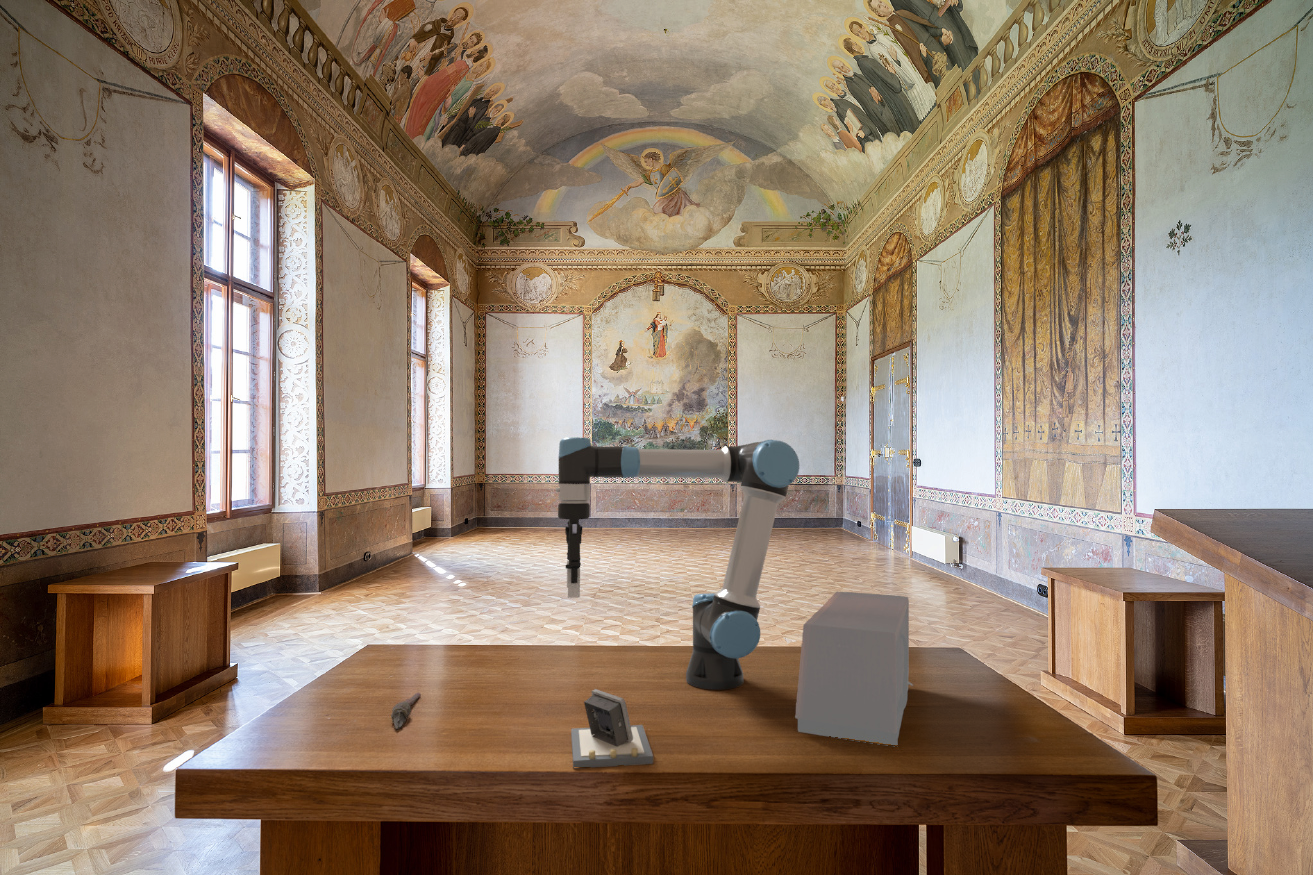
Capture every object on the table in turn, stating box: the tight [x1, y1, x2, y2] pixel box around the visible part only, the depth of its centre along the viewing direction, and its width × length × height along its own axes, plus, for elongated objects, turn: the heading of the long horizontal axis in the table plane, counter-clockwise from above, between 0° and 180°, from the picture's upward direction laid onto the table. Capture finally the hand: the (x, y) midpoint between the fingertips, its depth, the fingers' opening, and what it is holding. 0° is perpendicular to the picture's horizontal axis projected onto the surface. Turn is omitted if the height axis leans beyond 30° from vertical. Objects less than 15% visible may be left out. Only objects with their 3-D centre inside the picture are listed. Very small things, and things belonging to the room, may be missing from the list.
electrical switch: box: [583, 688, 633, 747], centre depth 133 cm, size 9×5×9 cm, turn 46°
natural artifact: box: [391, 692, 422, 730], centre depth 152 cm, size 4×23×4 cm, turn 1°
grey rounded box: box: [794, 591, 914, 745], centre depth 157 cm, size 45×22×24 cm, turn 154°
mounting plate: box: [570, 724, 654, 769], centre depth 133 cm, size 15×16×3 cm
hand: (573, 592), depth 158 cm, fingers open, 13 cm apart
